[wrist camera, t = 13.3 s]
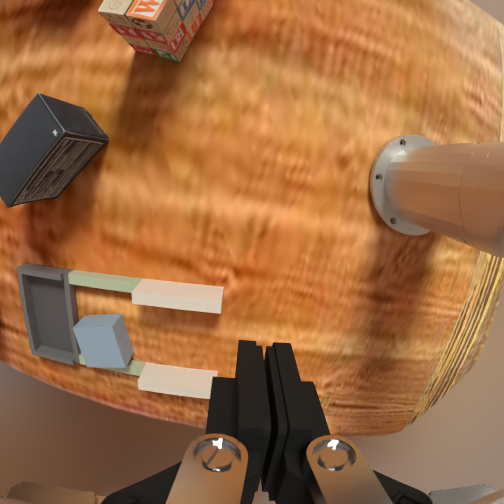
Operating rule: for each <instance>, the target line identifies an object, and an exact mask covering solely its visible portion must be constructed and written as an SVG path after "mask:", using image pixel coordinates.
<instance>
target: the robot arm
mask: <svg viewBox="0 0 504 504" xmlns="http://www.w3.org/2000/svg"><path fill="white" fill-rule="evenodd" d="M400 142H401V145H400ZM376 175H377V177H378V178H377V179H376ZM370 193H371V199H372V202H373V205H374V207H375V209H376V211H377V213H378V215H379V217H380V218H381V219H382V220H383V221H384V223H385V224H387V225H388V226H389V227H390V228H391V229H393V230H395V231H397V232H399V233H402V234H405V235H410V236H418V235H423V234H426V233H429V232H430V231H433V232H435V233H438V234H441V235H443V236H446V237H449V238H451V239H454V240H456V241H459V242H461V243H464V244H466V245H469V246H471V247H474V248H476V249H478V250H481V251H483V252H486V253H488V254H491V255H494V256H497V257H502V258H504V142H483V143H461V144H445V145H437V144H436V143H434V142H433V141H431V140H430V139H428V138H425V137H423V136H419V135H404V136H399V137H397V138H394V139H392V140H391V141H389V142H388V143H387V144H385V145H384V146H383V148H382V149H381V150H380V151H379V152H378V154H377V156H376V158H375V160H374V162H373V165H372V168H371V174H370ZM391 218H392V220H391V221H390V219H391ZM260 478H261V484H262V491H263V492H268V493H269V501H275V503H276V504H504V489H501V490H498V491H496V492H495V490H494V489H492V488H491V487H490V486H487V485H474V486H469V487H462V488H454V489H446V490H437V491H431V492H430V493H429V494H427V495H426V494H425V493H423V492H422V491H420V490H418V489H415V488H413V487H410V486H408V485H406V484H403V483H401V482H398V481H396V480H394V479H392V478H390V477H387V476H385V475H383V474H381V473H378V472H376V471H374V470H372V468H371V467H370V465H369V464H368V462H367V460H366V458H365V457H364V455H363V454H362V452H361V450H360V449H359V448H358V446H357V445H356V444H355V443H354V442H352V441H350V440H349V439H346V438H344V437H341V436H335V435H330V432H329V429H328V425H327V422H326V419H325V416H324V413H323V410H322V407H321V404H320V401H319V397H318V394H317V391H316V388H315V385H314V383H313V382H311V381H301V379H300V376H299V372H298V368H297V365H296V361H295V357H294V354H293V350H292V347H291V344H290V343H277V342H274V343H273V345H272V346H267V347H266V353H265V359H264V358H263V349H262V346H256V341H246V340H239V344H238V354H237V364H236V374H235V378H225V377H214V376H213V378H212V385H211V393H210V402H209V410H208V418H207V427H206V434H205V435H203V436H200V437H197V438H196V439H195V440H193V441H192V442H191V443H190V445H189V447H188V448H187V450H186V453H185V456H184V458H183V461H182V462H179V463H177V464H175V465H173V466H172V467H170V468H167V469H165V470H163V471H161V472H159V473H157V474H155V475H153V476H151V477H149V478H146V479H144V480H142V481H140V482H138V483H135V484H133V485H131V486H128V487H126V488H124V489H121V490H119V491H116V492H114V493H112V494H110V495H109V496H107V497H104V496H96V495H95V493H94V492H85V491H78V490H70V489H64V488H58V487H52V486H47V485H42V484H37V483H33V482H20V483H17V484H15V485H14V486H12V487H11V488H10V490H9V492H8V494H7V497H4V496H0V504H252V502H253V498H254V494H255V492H256V491H257V490H258V486H259V481H260Z"/></svg>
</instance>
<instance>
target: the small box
mask: <svg viewBox="0 0 504 504" xmlns="http://www.w3.org/2000/svg"><path fill="white" fill-rule="evenodd" d="M108 141H109V138H108V137H107V135H106V134H104V132H103V130H101V128H100V127H99V126H98V125H97V123H96V122H95V121H94V120H93V118H92V116H91V115H90V114H89V113H88V112H87V111H86V109H85V108H82V107H79V106H76V105H73V104H70V103H67V102H64V101H61V100H58V99H55V98H52V97H49V96H45V95H42V94H40V93H38V94H37V95H36V96H35V97H34V98H33V100H32V101H31V102H30V103H29V105H28V106H27V107H26V109H25V110H24V111H23V113H22V114H21V115H20V117H19V118H18V119H17V121H16V122H15V123H14V125H13V126H12V127H11V129H10V130H9V132H8V133H7V135H6V136H5V138H4V139H3V140H2V142H1V143H0V196H1V198H2V200H3V201H4V203H5V204H6V206H7V208H10V207H13V206H16V205H19V204H24V203H30V202H34V201H39V200H45V199H51V198H58V197H59V195H60V194H61V193H62V192H63V191H64V190H65V188H66V187H67V186H68V185H69V184H70V182H71V181H72V180H73V179H74V178H75V177H76V176H77V175H78V173H79V172H80V171H81V170H82V169H83V168H84V167H85V166H86V165H87V163H88V162H89V161H90V160H91V159H92V158H93V157H94V156H95V155H96V154H97V153H98V152H99V151H100V150H101V148H102V147H103V146H104V145H105V144H106V143H107V142H108Z"/></svg>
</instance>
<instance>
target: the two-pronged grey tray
mask: <svg viewBox="0 0 504 504" xmlns="http://www.w3.org/2000/svg"><path fill="white" fill-rule="evenodd" d="M17 272H18V280H19V288H20V295H21V301H22V307H23V313H24V318H25V323H26V328H27V333H28V338H29V342H30V347H31V351H32V354H33V355H37V356H40V357H43V358H47V359H50V360H54V361H58V362H61V363H65V364H69V365H73V366H74V364H75V363H79V364H83V365H86V363H85V360H84V358H83V355H82V353H81V350H80V347H79V344H78V342H77V339H76V336H75V333H74V330H73V327H74V326H75V325H76V324H77V323H78V322H79V319H78V310H77V301H76V291H75V285H80V286H86V287H93V288H100V289H107V290H114V291H121V292H129V293H132V303H133V304H140V305H148V306H156V307H164V308H172V309H181V310H190V311H200V312H209V313H220V314H221V308H222V301H223V291H224V287H219V286H209V285H199V284H189V283H179V282H170V281H161V280H152V279H143V278H134V277H126V276H118V275H110V274H102V273H94V272H87V271H79V270H72V269H65V268H58V267H51V266H44V265H37V264H31V263H25V264H23V265H21V266H19V267H17ZM96 368H98V367H96ZM101 369H106V370H111V371H116V372H121V373H126V374H132V375H137V376H140V377H139V379H138V387H139V389H140V390H146V391H152V392H158V393H165V394H172V395H179V396H187V397H195V398H204V399H210V393H211V385H212V378H213V376H214V377H217V375H218V371H211V370H201V369H192V368H184V367H176V366H168V365H161V364H154V363H148V362H142V361H136V360H129V362H128V364H127V366H126V368H101Z"/></svg>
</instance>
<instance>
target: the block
mask: <svg viewBox="0 0 504 504" xmlns="http://www.w3.org/2000/svg"><path fill="white" fill-rule="evenodd" d="M73 330H74V333H75V336H76V339H77V342H78V344H79V347H80V350H81V353H82V355H83V358H84V360H85V363H86V365H87V367H98V368H126V366H127V364H128V362H129V360H130V359H131V357H132V355H133V353H134V352H133V349H132V345H131V342H130V339H129V335H128V332H127V329H126V325H125V322H124V318H123V314H107V315H89V316H84V317H83V318H82V319H81V320H80V321H79V322H78V323H77V324H76V325H75V326H74V327H73Z"/></svg>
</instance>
